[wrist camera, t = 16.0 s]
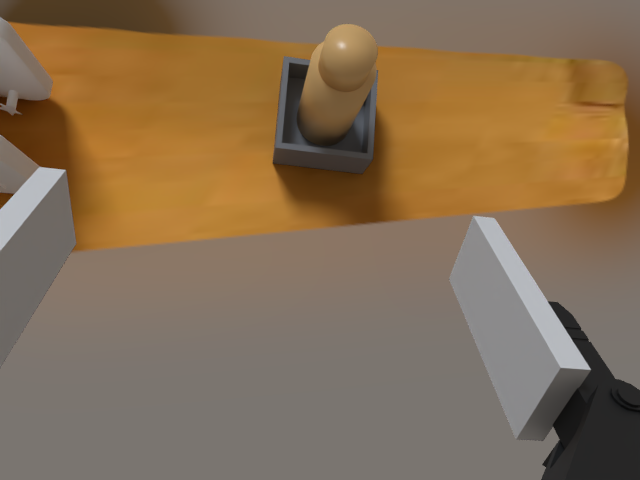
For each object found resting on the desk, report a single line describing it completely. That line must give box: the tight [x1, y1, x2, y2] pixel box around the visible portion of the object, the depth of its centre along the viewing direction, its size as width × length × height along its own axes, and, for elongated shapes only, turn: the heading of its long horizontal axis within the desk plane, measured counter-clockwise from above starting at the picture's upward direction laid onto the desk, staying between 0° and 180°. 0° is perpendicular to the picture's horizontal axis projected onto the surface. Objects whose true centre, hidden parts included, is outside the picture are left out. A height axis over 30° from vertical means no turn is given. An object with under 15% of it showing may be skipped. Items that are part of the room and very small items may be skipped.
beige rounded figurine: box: [296, 24, 378, 146], centre depth 40 cm, size 5×5×12 cm
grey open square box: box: [273, 56, 378, 174], centre depth 45 cm, size 8×8×4 cm
